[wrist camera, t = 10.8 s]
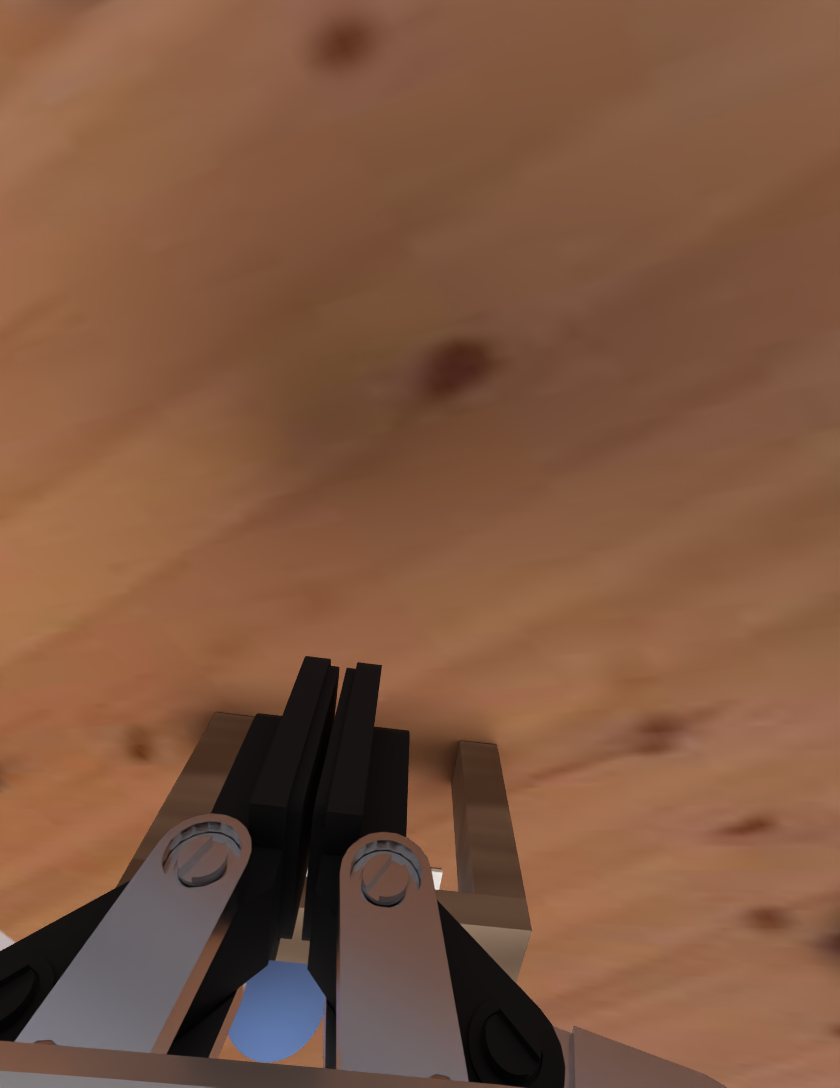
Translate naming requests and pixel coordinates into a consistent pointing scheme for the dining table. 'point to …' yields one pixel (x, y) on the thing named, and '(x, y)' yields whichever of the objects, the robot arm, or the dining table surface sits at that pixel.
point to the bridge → (479, 823)
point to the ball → (277, 1012)
